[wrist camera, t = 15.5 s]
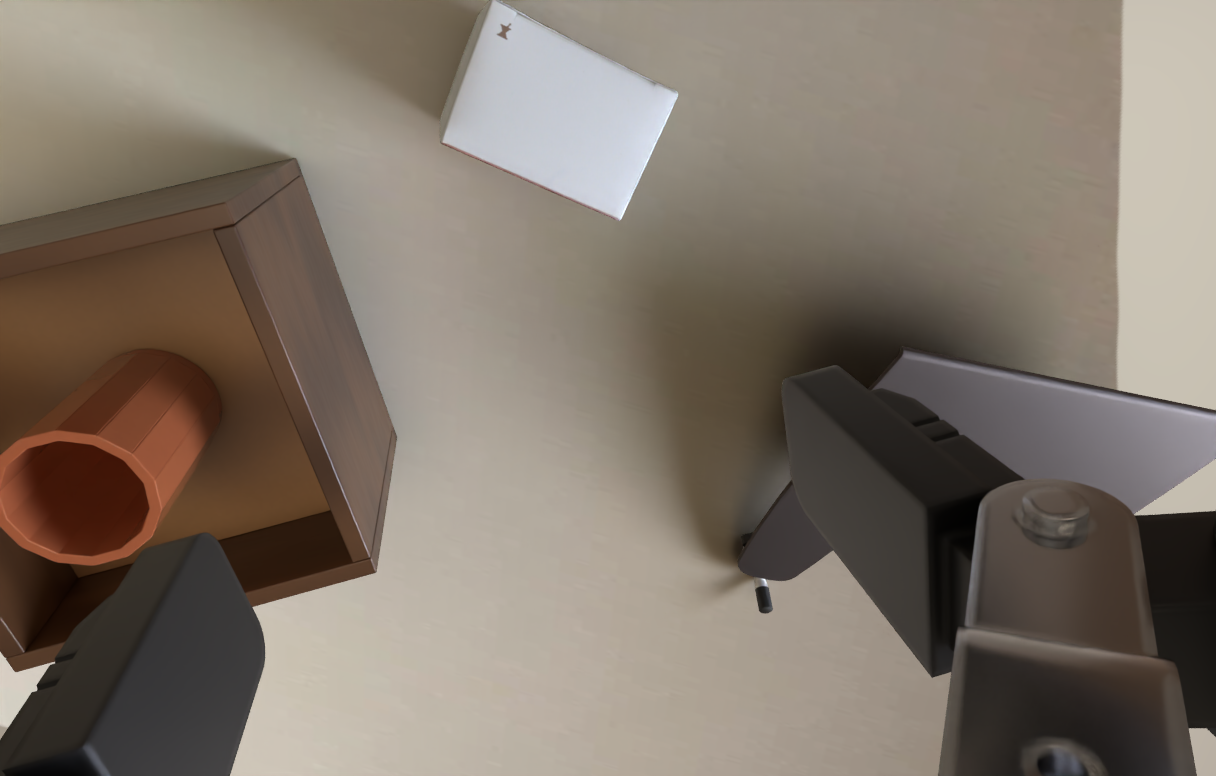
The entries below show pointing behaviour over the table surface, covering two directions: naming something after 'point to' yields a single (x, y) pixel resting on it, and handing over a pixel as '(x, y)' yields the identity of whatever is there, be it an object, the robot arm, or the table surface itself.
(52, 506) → the cup
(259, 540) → the box
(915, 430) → the robot arm
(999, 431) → the laptop tray
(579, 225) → the table surface
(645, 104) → the small box
